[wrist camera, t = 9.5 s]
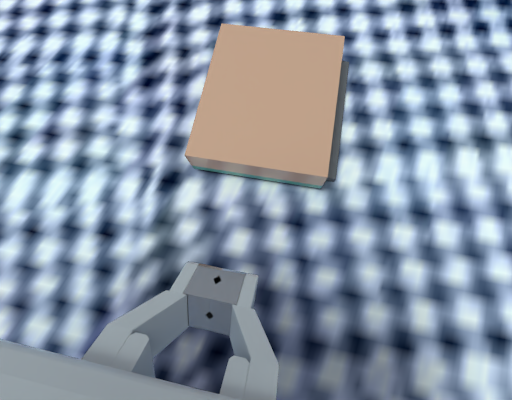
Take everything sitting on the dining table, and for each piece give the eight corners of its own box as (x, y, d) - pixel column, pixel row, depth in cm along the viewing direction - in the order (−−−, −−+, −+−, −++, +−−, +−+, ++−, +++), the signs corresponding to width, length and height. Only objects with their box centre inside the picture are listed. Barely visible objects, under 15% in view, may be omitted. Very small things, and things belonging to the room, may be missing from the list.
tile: (327, 177, 17) (344, 36, 21) (184, 155, 18) (221, 23, 22) (320, 188, 20) (337, 60, 23) (194, 168, 21) (226, 47, 24)
